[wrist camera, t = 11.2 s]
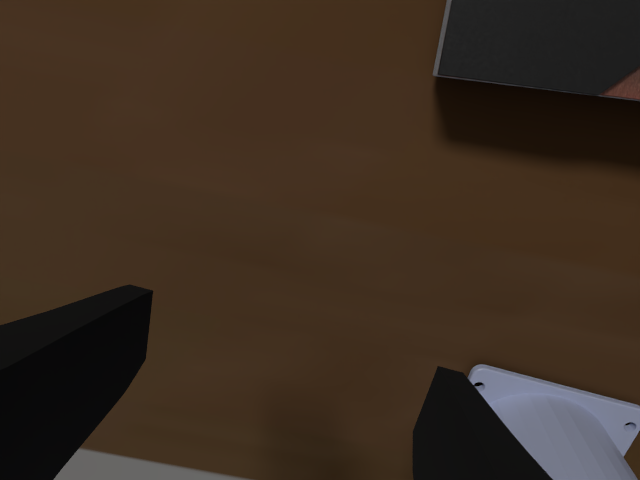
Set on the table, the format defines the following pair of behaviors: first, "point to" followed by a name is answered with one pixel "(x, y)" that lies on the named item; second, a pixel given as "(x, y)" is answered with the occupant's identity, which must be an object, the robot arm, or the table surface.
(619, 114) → the table surface
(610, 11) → the picture frame
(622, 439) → the robot arm
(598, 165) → the table surface
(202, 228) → the table surface
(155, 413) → the table surface
